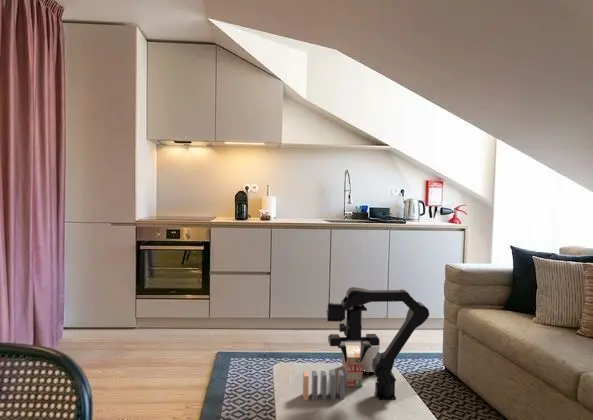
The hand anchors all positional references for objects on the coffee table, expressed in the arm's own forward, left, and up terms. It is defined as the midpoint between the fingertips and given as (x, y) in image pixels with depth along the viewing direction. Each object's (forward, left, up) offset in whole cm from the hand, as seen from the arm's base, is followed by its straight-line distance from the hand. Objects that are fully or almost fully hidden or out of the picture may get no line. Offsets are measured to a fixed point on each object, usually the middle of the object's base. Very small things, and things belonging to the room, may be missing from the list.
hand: (353, 362), depth 172 cm
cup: (-13, -23, -13) cm, 29 cm away
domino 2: (+15, 0, -13) cm, 20 cm away
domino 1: (+18, 0, -13) cm, 22 cm away
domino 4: (+8, 0, -13) cm, 15 cm away
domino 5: (+4, 0, -13) cm, 14 cm away
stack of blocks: (-4, -18, -13) cm, 23 cm away
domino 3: (+11, 0, -13) cm, 17 cm away
